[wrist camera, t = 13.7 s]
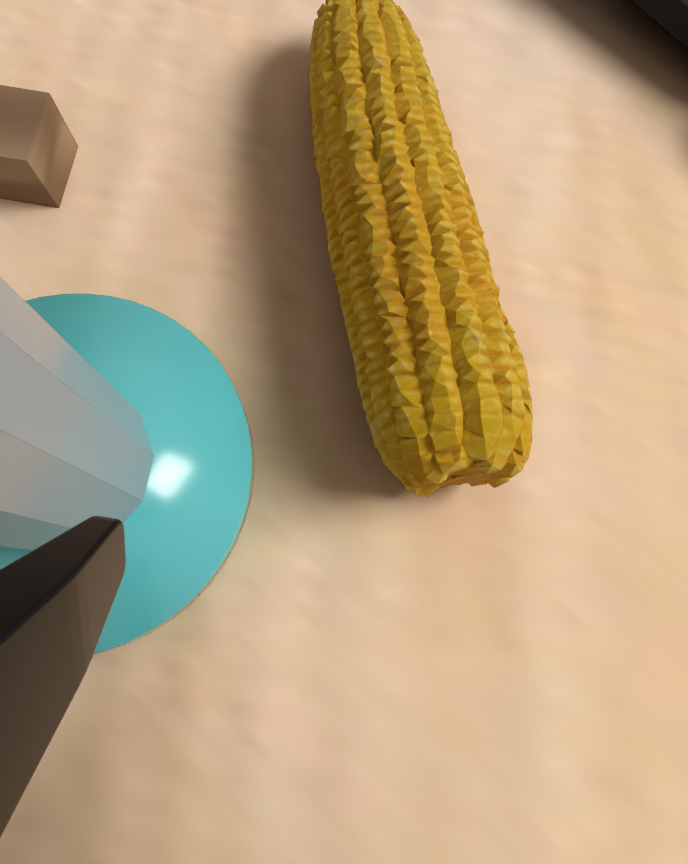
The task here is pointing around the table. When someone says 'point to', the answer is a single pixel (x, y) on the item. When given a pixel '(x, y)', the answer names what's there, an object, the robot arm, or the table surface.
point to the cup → (60, 435)
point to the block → (33, 147)
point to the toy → (669, 16)
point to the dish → (164, 454)
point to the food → (411, 259)
